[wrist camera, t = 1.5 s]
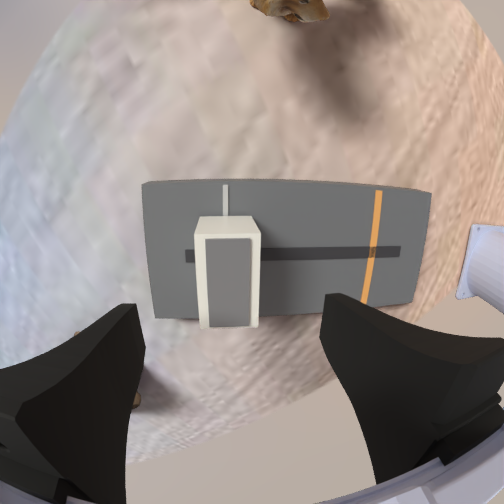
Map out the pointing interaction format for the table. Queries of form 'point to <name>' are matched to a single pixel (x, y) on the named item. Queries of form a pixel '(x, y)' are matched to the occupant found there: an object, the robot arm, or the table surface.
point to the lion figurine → (293, 9)
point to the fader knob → (227, 271)
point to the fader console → (290, 240)
